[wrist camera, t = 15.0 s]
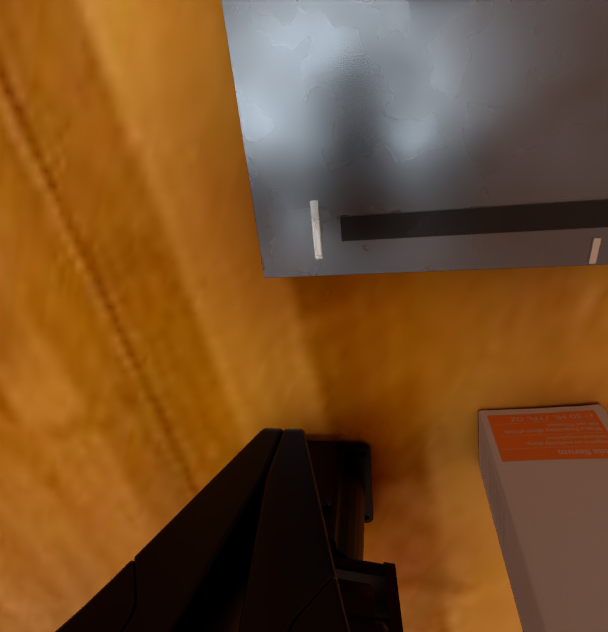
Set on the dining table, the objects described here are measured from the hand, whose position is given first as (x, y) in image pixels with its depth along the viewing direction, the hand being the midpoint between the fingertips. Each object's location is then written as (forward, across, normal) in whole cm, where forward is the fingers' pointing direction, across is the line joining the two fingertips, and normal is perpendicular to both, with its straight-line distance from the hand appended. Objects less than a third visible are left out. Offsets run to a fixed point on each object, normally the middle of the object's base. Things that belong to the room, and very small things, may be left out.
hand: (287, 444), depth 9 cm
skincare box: (+13, -10, +11) cm, 20 cm away
